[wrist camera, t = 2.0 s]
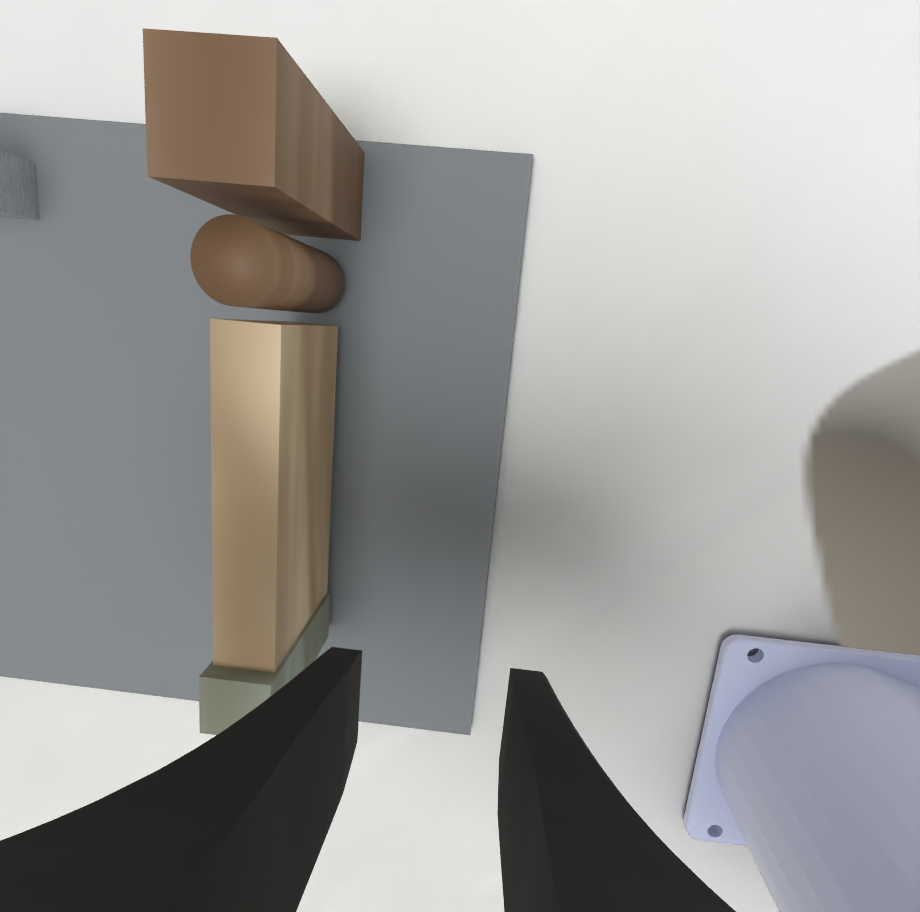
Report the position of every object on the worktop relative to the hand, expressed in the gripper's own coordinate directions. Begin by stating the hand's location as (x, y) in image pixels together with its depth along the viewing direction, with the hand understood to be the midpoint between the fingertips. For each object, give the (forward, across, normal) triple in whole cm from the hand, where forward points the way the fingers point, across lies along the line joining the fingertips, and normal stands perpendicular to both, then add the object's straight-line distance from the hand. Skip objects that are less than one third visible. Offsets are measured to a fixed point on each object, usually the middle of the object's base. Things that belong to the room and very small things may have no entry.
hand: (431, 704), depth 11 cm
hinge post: (+8, +5, -10) cm, 14 cm away
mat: (+8, +9, -2) cm, 13 cm away
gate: (+8, +5, -3) cm, 9 cm away
